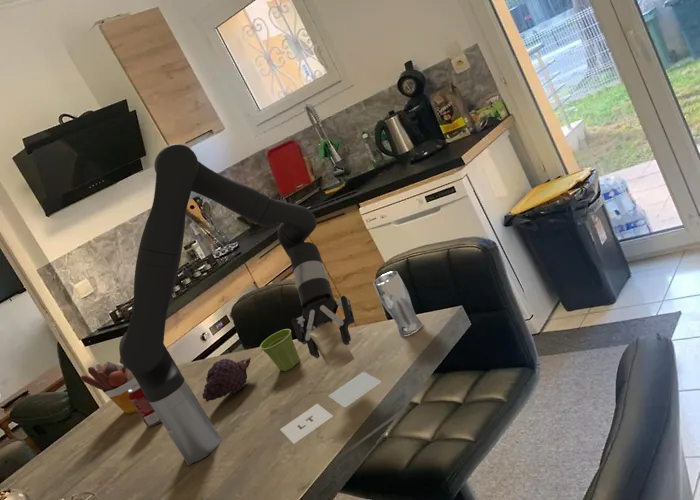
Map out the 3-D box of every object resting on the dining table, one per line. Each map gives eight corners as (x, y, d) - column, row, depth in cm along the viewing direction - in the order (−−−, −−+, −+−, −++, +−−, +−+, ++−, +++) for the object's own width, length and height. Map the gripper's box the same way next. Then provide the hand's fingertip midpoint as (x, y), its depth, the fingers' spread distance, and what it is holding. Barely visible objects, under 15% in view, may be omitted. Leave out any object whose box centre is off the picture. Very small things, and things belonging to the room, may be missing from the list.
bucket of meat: (144, 389, 223) (113, 340, 218) (177, 381, 214) (145, 330, 210) (103, 427, 207) (68, 375, 202) (136, 420, 198) (101, 365, 193)
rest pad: (345, 409, 141) (344, 407, 141) (328, 397, 151) (328, 395, 151) (382, 383, 144) (382, 381, 144) (364, 372, 154) (363, 371, 154)
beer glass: (423, 318, 166) (398, 267, 163) (425, 330, 160) (398, 276, 156) (398, 329, 168) (372, 279, 164) (398, 341, 161) (371, 288, 157)
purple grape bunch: (222, 413, 172) (203, 382, 169) (201, 413, 178) (182, 383, 176) (266, 372, 184) (249, 342, 181) (245, 374, 191) (228, 345, 188)
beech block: (335, 371, 143) (316, 337, 141) (327, 366, 147) (308, 333, 145) (354, 358, 144) (335, 324, 142) (345, 354, 149) (327, 320, 147)
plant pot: (304, 365, 175) (289, 338, 173) (273, 380, 176) (257, 352, 174) (306, 351, 184) (292, 324, 182) (276, 365, 185) (261, 339, 183)
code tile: (294, 445, 137) (293, 443, 137) (280, 430, 147) (279, 429, 147) (334, 417, 140) (333, 415, 140) (318, 404, 150) (317, 403, 150)
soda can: (163, 423, 185) (140, 388, 182) (143, 431, 187) (121, 396, 184) (172, 410, 192) (151, 376, 189) (154, 417, 193) (132, 383, 191)
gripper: (278, 292, 150) (295, 358, 142) (334, 266, 147) (355, 332, 139) (293, 303, 156) (309, 367, 148) (347, 278, 154) (367, 342, 145)
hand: (331, 350), depth 143 cm, fingers closed on beech block, 7 cm apart
